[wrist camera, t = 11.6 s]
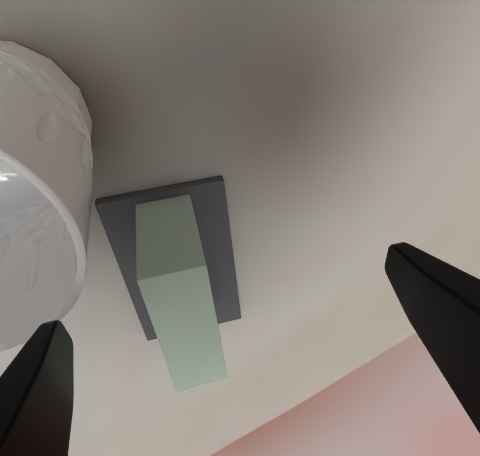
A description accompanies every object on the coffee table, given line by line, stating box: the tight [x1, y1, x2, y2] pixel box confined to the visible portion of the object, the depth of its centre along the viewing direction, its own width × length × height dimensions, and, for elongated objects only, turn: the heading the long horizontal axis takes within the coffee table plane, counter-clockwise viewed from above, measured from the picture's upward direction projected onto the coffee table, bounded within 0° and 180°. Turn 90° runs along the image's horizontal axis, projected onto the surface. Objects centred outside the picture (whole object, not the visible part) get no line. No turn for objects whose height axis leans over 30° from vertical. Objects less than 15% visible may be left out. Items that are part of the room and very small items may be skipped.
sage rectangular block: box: [136, 194, 228, 391], centre depth 21 cm, size 9×3×6 cm, turn 5°
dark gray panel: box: [95, 176, 241, 340], centre depth 24 cm, size 7×12×1 cm, turn 5°
